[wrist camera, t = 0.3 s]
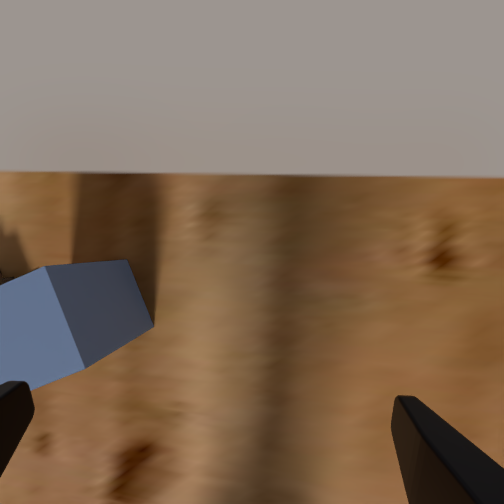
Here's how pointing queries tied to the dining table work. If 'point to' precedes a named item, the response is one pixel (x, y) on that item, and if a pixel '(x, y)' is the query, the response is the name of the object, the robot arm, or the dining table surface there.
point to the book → (67, 319)
